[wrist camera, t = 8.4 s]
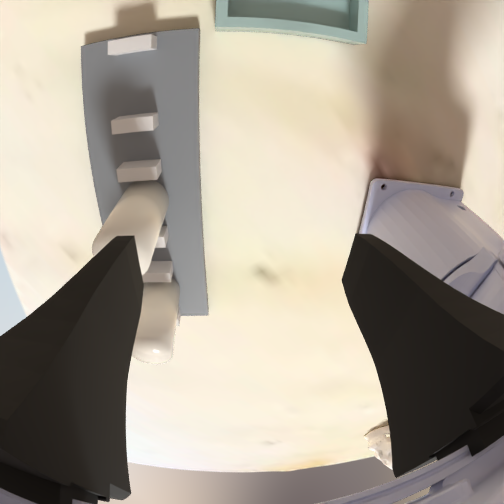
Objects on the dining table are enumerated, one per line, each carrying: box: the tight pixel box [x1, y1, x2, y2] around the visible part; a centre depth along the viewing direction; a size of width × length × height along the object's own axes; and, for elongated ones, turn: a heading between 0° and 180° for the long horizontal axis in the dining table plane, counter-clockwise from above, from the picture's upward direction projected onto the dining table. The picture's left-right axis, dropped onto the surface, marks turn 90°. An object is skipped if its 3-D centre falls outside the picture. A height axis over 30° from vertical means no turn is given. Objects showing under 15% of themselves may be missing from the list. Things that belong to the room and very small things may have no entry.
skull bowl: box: [364, 425, 393, 470], centre depth 52 cm, size 10×14×12 cm
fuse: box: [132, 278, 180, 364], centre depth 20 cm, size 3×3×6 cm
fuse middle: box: [92, 180, 169, 275], centre depth 16 cm, size 3×3×6 cm
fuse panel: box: [81, 28, 209, 326], centre depth 18 cm, size 7×21×2 cm, turn 178°
